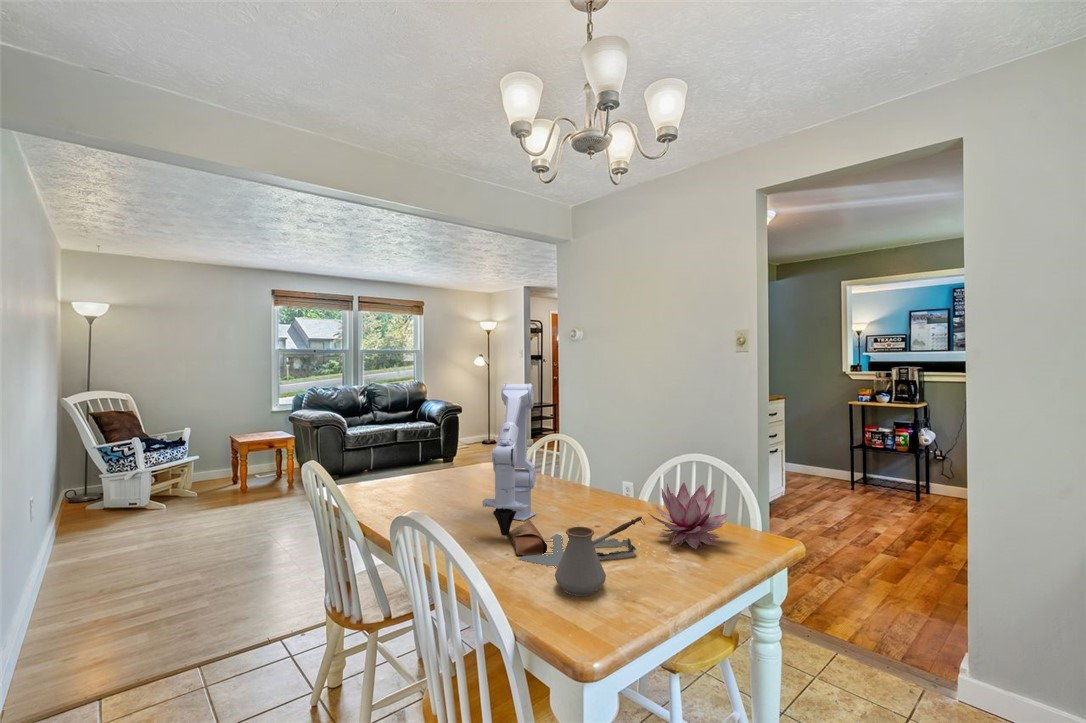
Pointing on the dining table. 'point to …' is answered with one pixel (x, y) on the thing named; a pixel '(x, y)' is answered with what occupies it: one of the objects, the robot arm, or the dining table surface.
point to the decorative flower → (690, 516)
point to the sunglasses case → (527, 540)
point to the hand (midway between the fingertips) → (505, 534)
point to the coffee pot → (583, 561)
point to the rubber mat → (551, 558)
